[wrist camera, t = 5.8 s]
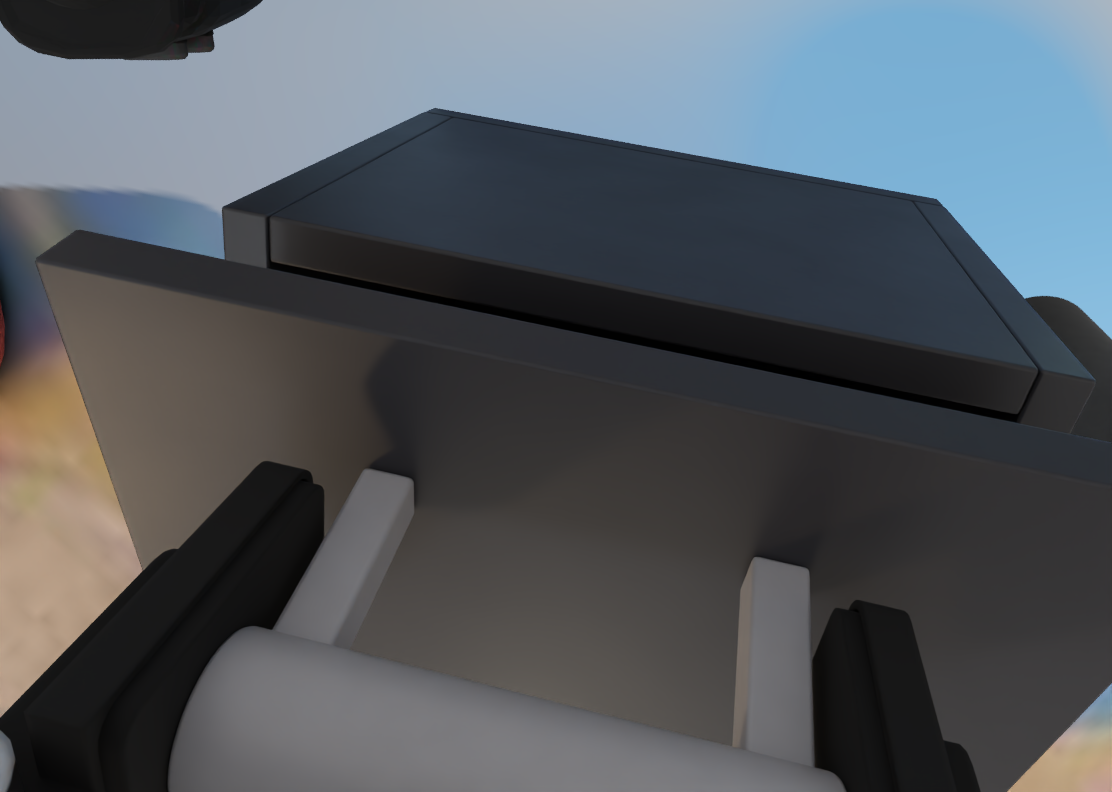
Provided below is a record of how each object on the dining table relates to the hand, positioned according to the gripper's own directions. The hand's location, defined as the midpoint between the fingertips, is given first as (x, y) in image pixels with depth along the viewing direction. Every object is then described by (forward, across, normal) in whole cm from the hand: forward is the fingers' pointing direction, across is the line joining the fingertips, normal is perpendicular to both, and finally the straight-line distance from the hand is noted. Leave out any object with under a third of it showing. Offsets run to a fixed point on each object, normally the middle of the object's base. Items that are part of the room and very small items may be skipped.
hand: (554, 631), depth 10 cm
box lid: (+3, 0, +5) cm, 5 cm away
